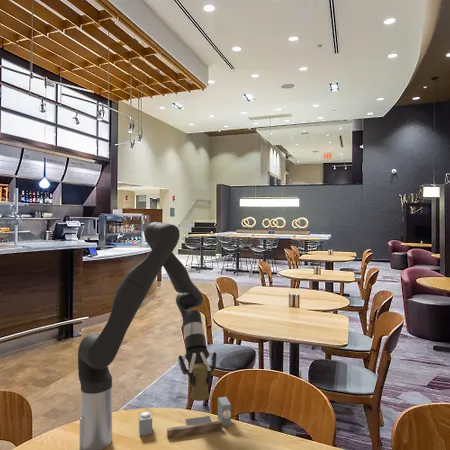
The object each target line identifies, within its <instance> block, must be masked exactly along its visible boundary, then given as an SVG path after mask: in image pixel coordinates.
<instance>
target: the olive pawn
mask: <svg viewBox="0 0 450 450" xmlns="http://www.w3.org/2000/svg"><path fill="white" fill-rule="evenodd" d="M207 371H208V368H207V365H206V364H204V363H197V364H195V365H194V366H193V368H192V373H193V376H194V386H191V387H192V388H191V395H190V398H191V399H192V400H193V401H196V402H201V401H202V402H203V401H206V400H208V399H209V398H210V395H209V387H208V386H209V385H208V384H207V377H206V373H207Z"/></svg>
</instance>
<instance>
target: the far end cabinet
mask: <svg viewBox="0 0 450 450" xmlns="http://www.w3.org/2000/svg"><path fill="white" fill-rule="evenodd" d="M231 411H232V404H231V402H230V401H229V399H228V397H227V396H221V397H217V418H218V421H222V423H223V427H228V426H229V427H230V426H232V417H231V416H232V412H231Z"/></svg>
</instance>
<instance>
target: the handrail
mask: <svg viewBox="0 0 450 450" xmlns="http://www.w3.org/2000/svg"><path fill="white" fill-rule="evenodd" d="M223 427H224V426H223V423H222V421H219V420H215V421H212V422H207V423H200V424H193V425H187V424H186V425H180V426H174V427H173V426H171V427H167V428H166V439H173V438H175V439H176V438H180V437H186V436H187V437H189V436H194V435H201V434H206V433H214V432H221V431H223Z"/></svg>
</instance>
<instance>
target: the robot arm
mask: <svg viewBox="0 0 450 450" xmlns="http://www.w3.org/2000/svg"><path fill="white" fill-rule="evenodd" d="M180 233H181V232H180V229H179V228H178V226H176V225H174V224H171V223H166V222H159V221H155V222H154V221H152V222H150V223H149V224H148V225H147V227H145V231H144V239H145V241H146V243H147V245H148V246H149V248H150V249H151V251H150V252H149V254H148V255H147V256H146V257H145V258H144V259H143V260H142V261H140V262H139V263H138V264H137V265H135V266H134V267H133V268H131V269H130V270H129V271H128V272H127V273H126V274H125V275H124V277H123V278H122V280H121V282H120V283H119V286H118V287H117V289H116V291H115V293H114V296H113V300H112V305H111V311H110V314H109V317H108V320H107V322H106V324H105V326H104V327H103V329H102V330H101V332H100V333H99V332H93V333H89V334H87V335H86V336H84V337H83V338H82V340H81V341H80V342H79V345H78V350H77V371H78V372H77V373H78V380H79V384H80V417H79V450H104V449H105V448H108V447H109V446H110V445H111V444H112V443H113V376H112V374H111V372H110V370H109V366H110V365H111V364H112V363H113V361H114V360H115V358H116V356H117V355H118V353H119V350H120V348H121V345H122V343H123V341H124V339H125V335H126V333H127V331H128V329H129V328H130V326H131V323H132V321H133V320H134V318H135V316H136V314H137V312H138V311H139V308H140V307H141V305H142V304H143V303H144V300H145V298H146V297H147V295H148V293H149V291H150V289H151V287H152V285H153V283H154V281H155V280H156V278H157V276H158V275H159V273H160V271H161V269H162V267H163V268H164V270H165V272H166V273H167V277H168V278H169V280H170V282H171V284H172V286H173V288H174V290H175V292H176V293H177V295H176V297H175V304H176V306H177V308H178V310H179V311H180V316H181V318H182V325H183V339H184V347H185V353H184V354H185V355H178V358H177V362H178V365H179V367H180V370H181V373H182V375H184V376H185V375H187V377H188V383H189V385H190V386H191V387H192V386H194V374H193V371H192V368H193V366H194V365H195V364H197V363H204V364H206V365H207V368H208V371H207V373H206V377H207V385H208V386H209V385H211V383H212V381H213V377H212V372H215V371H216V368H217V367H216V365H217V356H218V355H217V352H215V351H214V352H213V353H212V352H209V350H208V347H207V340H206V334H205V329H204V326H203V321H202V316H201V315H202V314H201V312H200V311H199V310H197V309H196V308H198V307H200V306H201V305H202V304H203V302H204V297H203V293H202V292H201V291H200V289H199V288H198V287H197V286H196V285H195V284H194V283H193V281H192V279H191V277H190V275H189V272H188V271H187V269H186V267H185V265H184V264H183V263H182V262H181V261H180V259H179V258H178V257H177V256H176V255H175V253H173V251H174V250H175V248H176V246H177V245H178V243H179V240H180V236H181V235H180ZM194 308H195V309H194ZM208 357H209V359H210V360H211V366H210V365H209V362H208ZM186 361H187V362H188V363H189V368H187V367H186V364H185V362H186Z"/></svg>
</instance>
